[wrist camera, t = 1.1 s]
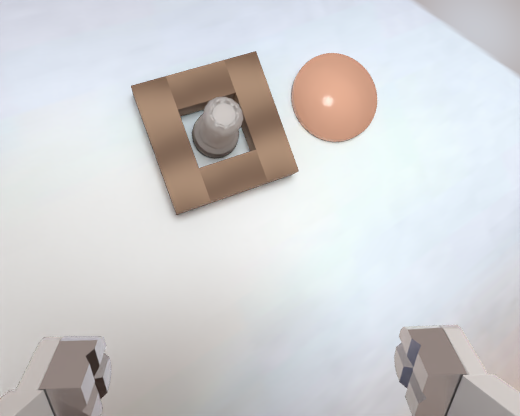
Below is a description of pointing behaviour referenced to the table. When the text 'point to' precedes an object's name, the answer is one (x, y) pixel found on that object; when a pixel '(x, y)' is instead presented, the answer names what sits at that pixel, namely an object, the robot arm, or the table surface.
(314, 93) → the coaster
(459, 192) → the table surface
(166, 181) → the socket block
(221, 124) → the rook chess piece
